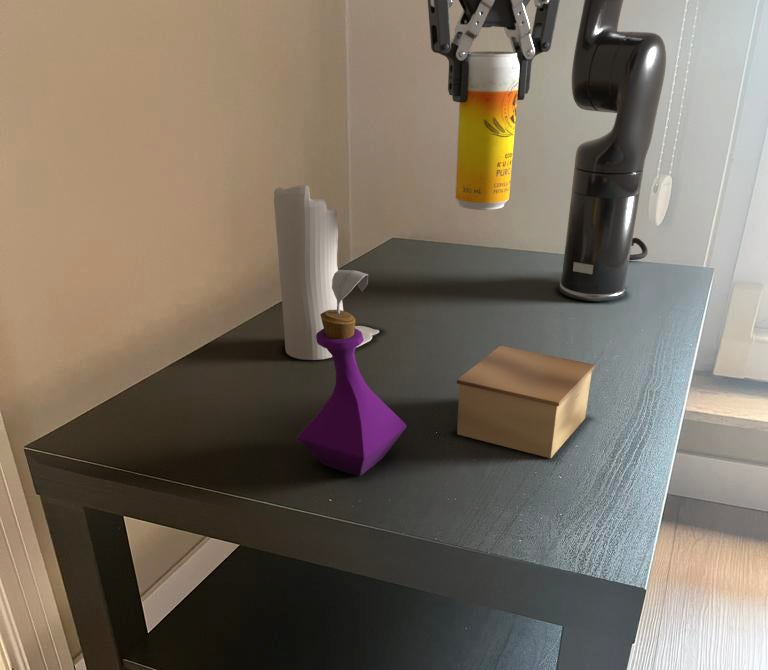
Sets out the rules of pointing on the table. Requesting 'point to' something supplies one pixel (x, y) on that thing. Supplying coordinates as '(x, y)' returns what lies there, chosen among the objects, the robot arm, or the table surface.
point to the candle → (307, 269)
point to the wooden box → (523, 400)
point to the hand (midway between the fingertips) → (488, 100)
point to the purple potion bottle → (349, 396)
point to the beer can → (487, 130)
